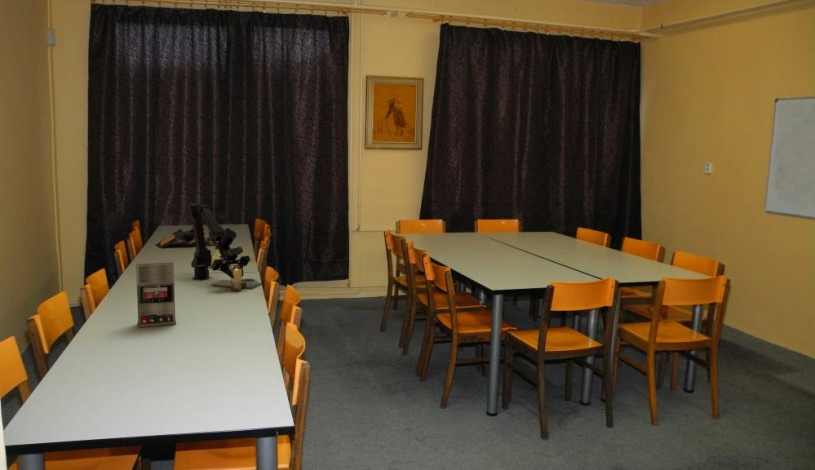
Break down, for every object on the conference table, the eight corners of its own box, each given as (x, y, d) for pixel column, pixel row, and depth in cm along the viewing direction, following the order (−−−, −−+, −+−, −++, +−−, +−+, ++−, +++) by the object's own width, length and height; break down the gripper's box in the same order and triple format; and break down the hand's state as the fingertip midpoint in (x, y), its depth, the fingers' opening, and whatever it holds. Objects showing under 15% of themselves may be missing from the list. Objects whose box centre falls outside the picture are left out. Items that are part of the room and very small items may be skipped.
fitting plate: (211, 286, 313) (210, 280, 313) (221, 281, 324) (221, 275, 324) (252, 289, 309) (252, 283, 309) (261, 284, 320) (261, 278, 319)
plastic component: (230, 264, 356) (213, 256, 353) (224, 275, 357) (207, 268, 354) (232, 255, 375) (216, 248, 372) (226, 265, 376) (210, 258, 373)
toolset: (160, 249, 401) (149, 220, 415) (161, 269, 414) (149, 240, 428) (222, 236, 421) (209, 209, 435) (221, 255, 435) (208, 228, 449)
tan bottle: (229, 291, 304) (228, 266, 302) (234, 289, 309) (233, 264, 307) (238, 292, 303) (238, 266, 301) (243, 290, 308) (243, 264, 306)
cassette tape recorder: (138, 328, 244) (135, 265, 240) (137, 323, 250) (135, 261, 246) (175, 325, 250) (174, 263, 246) (174, 320, 255) (173, 260, 251)
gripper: (213, 243, 298) (226, 269, 292) (248, 239, 312) (261, 264, 306) (205, 257, 305) (217, 283, 299) (240, 252, 318) (252, 277, 312)
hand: (237, 277), depth 304 cm, fingers closed on tan bottle, 5 cm apart
